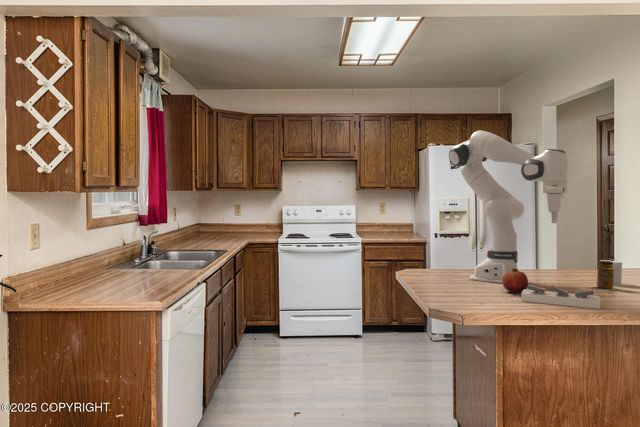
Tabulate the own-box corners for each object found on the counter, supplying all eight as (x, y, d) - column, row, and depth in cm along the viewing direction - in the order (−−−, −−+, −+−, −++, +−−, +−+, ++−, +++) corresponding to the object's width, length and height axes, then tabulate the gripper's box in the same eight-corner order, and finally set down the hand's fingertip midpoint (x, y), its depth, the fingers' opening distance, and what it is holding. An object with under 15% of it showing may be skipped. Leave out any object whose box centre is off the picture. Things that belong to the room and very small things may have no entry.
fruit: (528, 295, 192) (529, 271, 192) (502, 294, 196) (502, 269, 195) (527, 291, 202) (527, 267, 202) (501, 289, 206) (502, 266, 205)
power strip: (521, 301, 183) (521, 292, 182) (523, 296, 190) (523, 288, 190) (600, 308, 170) (600, 299, 170) (599, 303, 178) (599, 294, 178)
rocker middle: (550, 289, 179) (552, 286, 179) (551, 287, 182) (552, 284, 182) (567, 296, 176) (569, 293, 176) (567, 294, 180) (569, 291, 180)
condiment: (617, 289, 207) (618, 261, 207) (607, 291, 203) (608, 263, 202) (599, 286, 213) (600, 259, 213) (589, 288, 209) (590, 261, 208)
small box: (598, 282, 223) (598, 260, 222) (609, 282, 223) (610, 259, 223) (609, 285, 215) (610, 262, 214) (621, 285, 215) (622, 262, 215)
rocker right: (575, 296, 175) (574, 292, 175) (575, 294, 179) (574, 290, 179) (594, 294, 172) (593, 290, 172) (593, 292, 176) (592, 288, 176)
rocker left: (527, 288, 183) (528, 285, 183) (528, 287, 186) (529, 283, 186) (544, 293, 180) (545, 290, 180) (544, 291, 184) (545, 288, 183)
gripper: (547, 189, 204) (546, 221, 204) (544, 188, 186) (544, 224, 186) (564, 189, 201) (563, 222, 202) (563, 188, 183) (562, 224, 183)
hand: (554, 223), depth 194 cm, fingers closed
